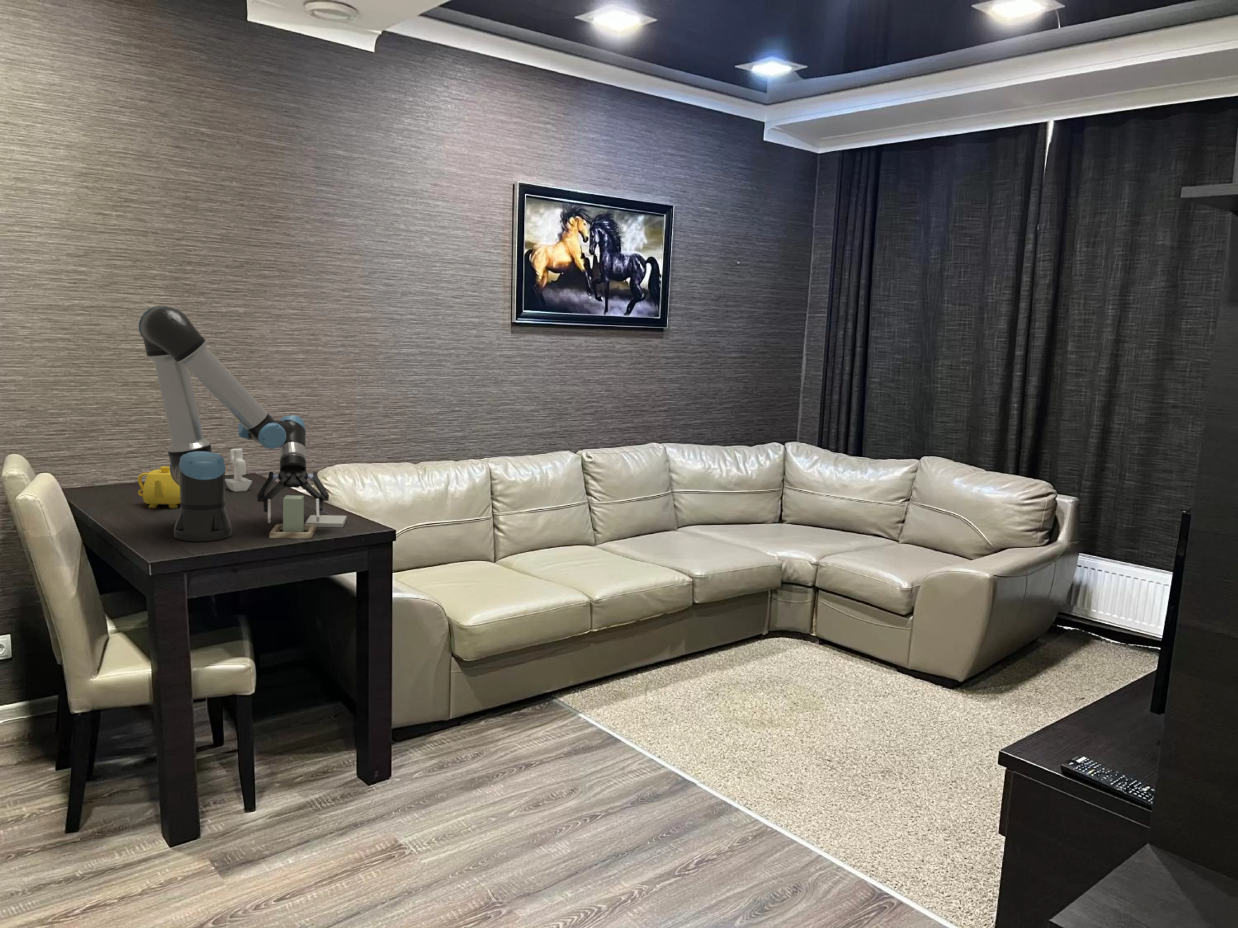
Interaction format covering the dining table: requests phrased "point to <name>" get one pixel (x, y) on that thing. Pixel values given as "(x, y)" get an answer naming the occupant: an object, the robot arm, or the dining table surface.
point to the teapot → (159, 488)
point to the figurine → (238, 472)
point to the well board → (278, 527)
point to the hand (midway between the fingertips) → (293, 520)
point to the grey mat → (327, 521)
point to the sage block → (293, 513)
